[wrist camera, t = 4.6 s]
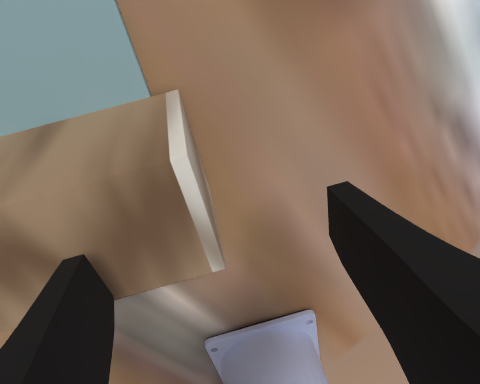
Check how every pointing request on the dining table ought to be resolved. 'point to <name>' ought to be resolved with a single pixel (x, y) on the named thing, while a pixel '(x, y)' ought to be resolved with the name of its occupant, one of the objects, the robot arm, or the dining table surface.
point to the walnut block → (105, 202)
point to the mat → (64, 61)
